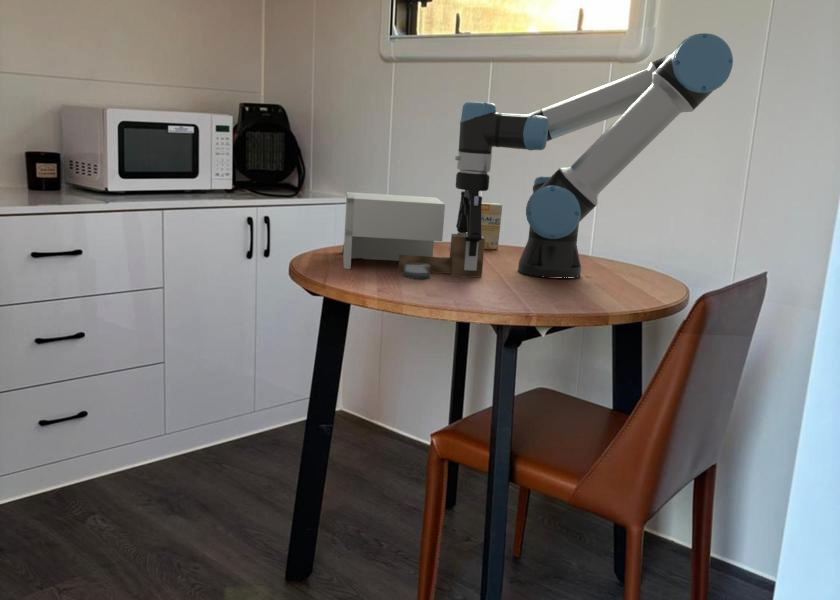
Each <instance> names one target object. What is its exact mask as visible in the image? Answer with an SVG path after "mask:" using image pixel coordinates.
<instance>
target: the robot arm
mask: <svg viewBox="0 0 840 600" xmlns="http://www.w3.org/2000/svg"><path fill="white" fill-rule="evenodd" d="M733 63H734V57H733V52H732V50H731V47H730V46H729V45H728V43H727V42H726V41H725V40H724V39H723V38H721V37H720V36H718V35H716V34H713V33H705V32H703V33H695V34H693V35H689V36H688V37H687V38H685V39H684V40H682V41H681V43H679V44H678V46H677V48H676V49H675V50H673V51H672V52H670V53H668V54H667V55H665V56H664V57H661V58H658V59H656V60H654V61H651V62H650V63H649V65H648V67H647V68H646V69H643V70H641V71H638V72H636V73H633V74H630V75H627V76H625V77H622V78H619V79H617V80H614V81H612V82H609V83H607V84H604V85H601V86H599V87H596V88H593V89H591V90H588V91H585V92H583V93H580V94H578V95H575V96H572V97H570V98H568V99H565V100H563V101H559V102H558V103H553V104H552V105H549V106H546V107H543V108H541V109H538V110H536V111H533V112H530V113H526V114H522V113H521V114H520V113H503V112H497V109H496V108H497V107H496V104H495V103H492V102H479V101H466V102H465V103H464V104H463V105H462V108H461V110H462V111H461V118H460V121H459V125H460V126H459V137H458V138H459V140H458V155H455V161H457V167H456V169H457V170H459V171H457V173H456V175H455V188H456V189H458V190H461V191H460V195H461V196H460V202H459V209H458V215H457V220H456V230H457V233H456V234H466V235H468V237H465V241H466V252H465V264H464V270H474V271H476V270H477V259H478V247H479V240H481V238H482V236H481V204H482V202H483V197H482V196H480V195H479V193H480V192H486V191H488V190H489V188H490V175H489V174H488V173H490V172H491V169H492V168H491V165H492V149H493V148H505V149H514V150H515V149H517V150H528V151H543V150H545V148H546V146H547V142H550V141H551V140H554V139H556V138H559V137H562V136H564V135H568V134H571V133H573V132H576V131H580V130H582V129H584V128H587V127H591V126H592V125H595V124H598V123H601V122H603V121H606V120H609V119H612V118H614V117H617V116H619V117H618V118H617V119H616V120H615V121H614V122H613V123H612V124H611V125H610V126H609V127H608V128H607V129H606V130H605V131H604V132H603V133H602V134H601V135H600V136H599V137H598V138H597V139H596V140H595V141H593V143H592V144H591V145H590V146H589V148H587V150H585V151H584V152H583V154H581V156H579V158H577V160H576V161H574V163H573V164H571V166H567V167H559V168H558V169H557V170H556V171H555V172H554V173H553V174H552V175H551V176H545V175H543V176H542V175H541V176H537V177H536V178H535V179H534V182H533V185H532V194H531V195H530V196H529V199H528V200H527V202H526V203H527V204H526V206H525V216H526V220H527V222H528V225H529V230H528V240H527V242H526V243H525V246H524V249H523V251H522V252H521V253H522V254H521V256H520V258H519V260H518V268H517V271H518V272H520V273H522V274H525V275H528V274H529V276H533V275H535V276H534V277H538V276H544V277H543V278H546V277H562V278H564V277H565V278H566V277H567V278H568V277H577V276H580V277H581V274H582V273H581V272H582V264H581V260H580V254H579V250H578V236H579V235H578V234H579V227H580V222H582V221H583V219H584V218H585V217H587V215H588V214H589V213H590V212H591V211H592V210H593V209H594V208H595V207H597V205H598V196H599V195H600V193H601V192H602V191H603V190H604V189H605V188H606V187H607V186H608V185H609V184H610V183H611V182H612V181H614V179H615V178H617V177H618V175H619V174H620V173H621V172H622V171H623V170H624V169H625V168H626V167H627V166H628V165H629V164H630V163H632V161H634V159H635V158H636V157H638V156H639V154H641V152H642V151H644V149H646V148H647V147H648V146H649V145H650V144H651V142H653V141H654V140H655V139H656V137H658V136H659V135H660V133H662V132H663V131H664V130H665V129H666V128H667V127H668V126H669V125H670V124H671V123H672V122H673V121H674V120H675V119H676V118H677V117H678V116H679V115H681V113H691V112H694V111H695V109H697V107H699V106H700V105H701V104H702V103H703V102H704V101H705V100H706V99H707V98H708V97H709V96H710V95H711V94H712V93H713V92H714V91H716V90H717V89H719V88H720V87H723V85H724V83H726V82H727V80H728V79H729V77H730V74H731V73H732V69H733Z"/></svg>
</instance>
